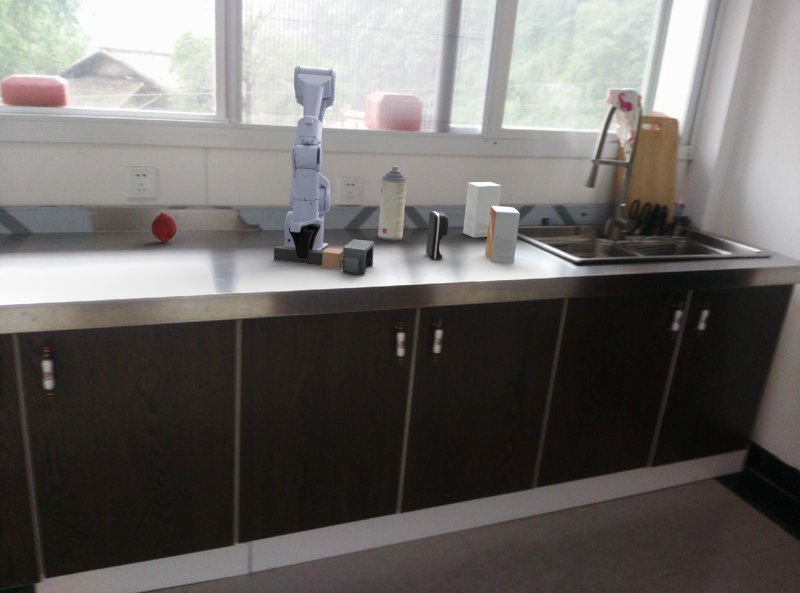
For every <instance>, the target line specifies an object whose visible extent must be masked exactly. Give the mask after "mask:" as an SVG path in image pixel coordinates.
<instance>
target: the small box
mask: <svg viewBox="0 0 800 593" xmlns="http://www.w3.org/2000/svg"><path fill="white" fill-rule="evenodd" d="M520 216H521V213H520V212H519V210H517V209H516V208H515V207H511V206H502V205H499V206H491V209H490V218H489V226H488V235H487V237H486V243H485V252H484V253H485V255H486V256H487V258H488V259H489V261H490V262H493V263H509V264H510V263H514V262H515V258H516V257H515V256H516V248H517V240H518V232H519V224H520V218H521V217H520Z"/></svg>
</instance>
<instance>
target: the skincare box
mask: <svg viewBox="0 0 800 593" xmlns="http://www.w3.org/2000/svg"><path fill="white" fill-rule="evenodd" d="M466 191H467V192H466V200H465V201H466V202H465V209H464V210H465V211H464V220H463V221H464V222H463V229H462V230H463V231H462V232H463V234H465V235H466V236H469V237H472V238H487V235H488V226H489V218H490V209H491V206H500V202H501V201H500V200H501V193H502V184H498V183H494V182H491V181H485V182H484V181H483V182H482V181H481V182H480V181H479V182H476V181H475V182H474V181H473V182H467V190H466Z"/></svg>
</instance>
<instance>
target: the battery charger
mask: <svg viewBox="0 0 800 593" xmlns="http://www.w3.org/2000/svg"><path fill="white" fill-rule="evenodd" d="M448 232H449V218H448V215H446V214H445V213H444V212H442V211H435V210H433V211H430V212H429V214H428V224H427V235H426V247H425V252H426V254H427V256H428V257H430V259H432V260H436V259H437V260H441V259H443V255H442V254H441V251H440V243H441V240H442V239H443V237H444V236H445V237H446V236H448Z"/></svg>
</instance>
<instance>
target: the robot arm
mask: <svg viewBox="0 0 800 593" xmlns="http://www.w3.org/2000/svg"><path fill="white" fill-rule="evenodd" d="M336 76H337V70H336V69H335V68H334V67H331V68H330V67H317V66H308V65H307V66H305V65H304V66H303V65H299V64H297V65H296V66H295V67H294V72H293V88H294V96H295V99H296V103H297V104H299V106H302V111H303V112H302V113H303V117H301V118H299V119H298V121H297V124H296V134H295V144H294V145H293V146H292V149H291V158H290V159H291V160H290V161H291V167H292V168H291V169H292V180H291V182H290V183H291V184H290V188H289V208H290V209H291V210H290V211H288V212H287V213H286V215H285V219H284V245H283V246H287V247H295V249H296V253H297V257H298V258H304V259H306V258H307V256H308V251H309V249H312V250H321V251H323V249H326V248H327V246H329V243H327V242H324V228H325V213H328V212H329V211H330V209H331V208H330V207H331V183H330V181H329V180H328V179H327V178H326V176H324V175H323V174H322V173H321V170H322V166H323V165H322V164H323V148H322V145H323V144H322V142H323V128H324V126H323V125H324V124H323V123H324V116H325V113H326V111H327V108H330V107H332V106H333V105H334V101H335V93H336V82H337V81H336Z"/></svg>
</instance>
